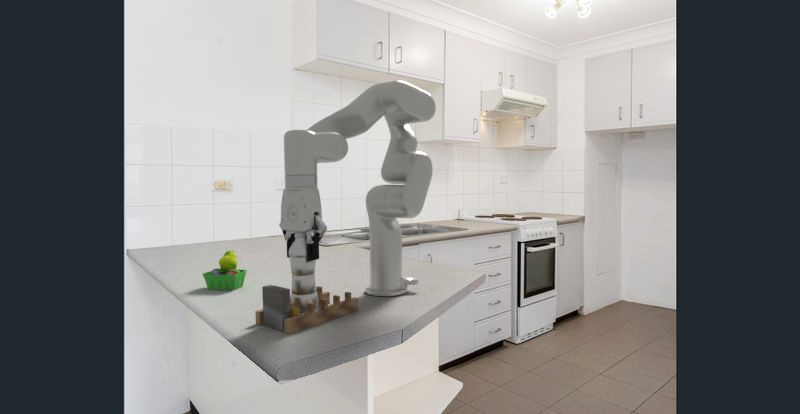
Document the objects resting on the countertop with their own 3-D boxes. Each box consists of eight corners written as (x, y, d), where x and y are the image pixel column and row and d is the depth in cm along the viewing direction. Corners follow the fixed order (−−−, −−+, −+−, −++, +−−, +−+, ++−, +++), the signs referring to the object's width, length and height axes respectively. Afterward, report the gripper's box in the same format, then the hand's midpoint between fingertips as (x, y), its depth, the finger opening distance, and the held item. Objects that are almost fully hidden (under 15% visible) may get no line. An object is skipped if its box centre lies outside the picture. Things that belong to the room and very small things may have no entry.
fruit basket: (201, 290, 134) (200, 253, 133) (218, 283, 143) (217, 249, 142) (235, 291, 132) (234, 254, 131) (250, 284, 141) (249, 250, 140)
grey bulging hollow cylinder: (312, 316, 101) (310, 231, 100) (285, 315, 103) (283, 230, 101) (322, 308, 108) (321, 228, 106) (296, 307, 109) (295, 227, 108)
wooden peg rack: (325, 302, 119) (325, 269, 118) (358, 309, 112) (358, 274, 111) (255, 323, 101) (254, 285, 101) (289, 334, 94) (288, 292, 94)
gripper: (265, 183, 106) (267, 257, 107) (314, 183, 95) (315, 264, 96) (290, 183, 112) (292, 253, 113) (338, 182, 101) (340, 259, 102)
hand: (302, 257), depth 104 cm, fingers closed on grey bulging hollow cylinder, 6 cm apart
